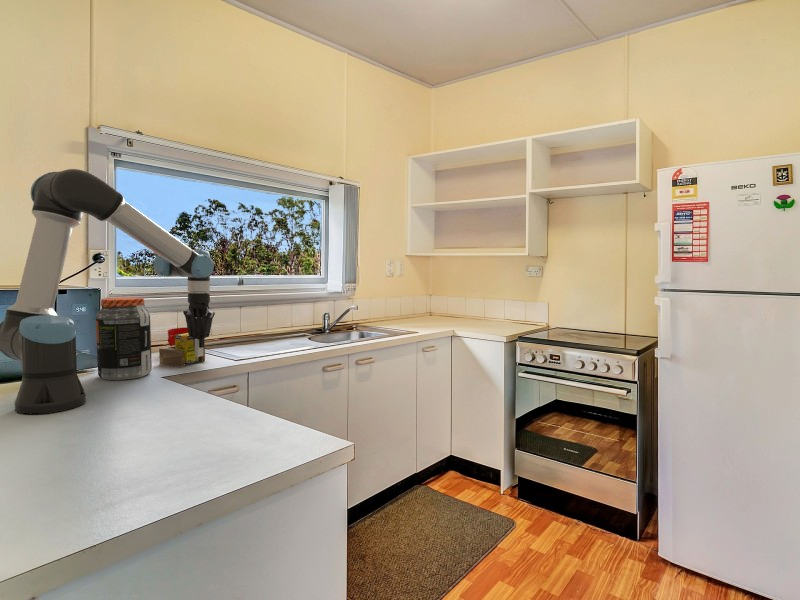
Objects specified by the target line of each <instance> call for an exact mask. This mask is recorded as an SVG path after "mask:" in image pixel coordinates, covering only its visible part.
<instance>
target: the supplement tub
mask: <svg viewBox="0 0 800 600" xmlns="http://www.w3.org/2000/svg"><path fill="white" fill-rule="evenodd" d="M100 300H101V301H100V306H101V308H100V309H99V311H98V312H97V313H96V316H95V331H96V332H95V333H96V357H97V376H98V377H99V378H100V379H102V380H108V381H121V380H123V381H124V380H133V379H138V378H142V377H144V376H146V375H149V374H150V373H151V371H152V367H153V366H152V364H153V363H152V362H153V361H152V335H151V334H152V333H151V330H152V329H151V315H150V312H149V310H148V309H147V308H146V306H145V298H144V297H111V298H109V297H108V298H101V299H100Z"/></svg>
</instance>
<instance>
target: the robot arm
mask: <svg viewBox="0 0 800 600" xmlns="http://www.w3.org/2000/svg"><path fill="white" fill-rule="evenodd" d="M30 198H31V200H32V203H33V205H32V209H31V214H32V215H33V216H34V218H35V219H36V221H35V225H34V230H33V233H32V237H31V241H30V245H29V248H28V252H27V257H26V261H25V265H24V269H23V272H22V276H21V280H20V281H21V282H20V283H19V284H20V285H19V289H18V292H17V296H16V301H15V302H14V304H12V305H11V306H8V307H7V308H6V311H5V316H4V317H3V318H4V319H3V320H2V321H1V322H0V353H1V354H2V355H4V356H5V357H7V358H9V359H12V360H13V361H21V373H22V375H21V376H22V378H21V383H20V387H19V389H18V392H17V395H16V398H15V401H14V411H15V413H17V412H18V414H21V413H27V414H26V415H33V414H32V413H45V414H49V413H48V412H53V413H59V412H64V411H68V410H71V409H75V408H77V407H80V406H82V405H84V404H85V403H86V402H87V401H86V399H87V397H86V392H85V390H84V387H83V385H82V382H81V381H80V378H79V376H78V370H77V369H78V367H77V365H78V364H77V344H76V343H77V337H76V336H77V330H76V325H75V322H74V320H73V319H71V317H70V318H69V317H67V316H61V315H58V314H57V312H56V311H55V309H54V307H55V305H56V304H55V302H56V299H57V295H58V290H59V286H60V283H61V279H62V274H63V270H64V267H65V261H66V257H67V253H68V248H69V245H70V242H71V237H72V232H73V229H74V228H75V227H79V226H80V225H81V222H82V218H83V214H87V215H90V216H92V217H93V218H96V220H99V221H100V222H108V223H109V224H111V225H113V226H114V227H115V228H117V230H118V229H119V230H120V231H121V232H123V233H125V234H126V235H128V236H129V237H131V238H132V239H133V240H135V241H137V242H138V243H139V244H141V245H143V246H144V247H146V248H147V249H149V250H150V251H152V252H154V254H157V255H156V256H155V257H154V260H153V270H154V273H155V274H156V275H158V276H159V277H183V278H187V291H188V293H187V302H188V308H187V309H186V310H183V312H182V313H183V315H184V318H185V322H186V328H188V334H189V336H191V337H193V339H194V347H195V357H200V356H203V347H204V346H205V345H206V344H205V341H206V340H205V339H206V338H209V337H210V334H211V331H212V329H211V328H212V323H213V319H214V318H215V317H214V316H215V315H216V313H215V311H212V310H210V305H209V303H210V302H211V294H210V290H211V289H210V288H211V287H210V285H211V284H210V283H211V282H210V279H211V278H210V277H211V274H212V273H213V271H214V266H215V265H214V260H213V259H212V258H211V255H210V252H209V251H208V250H203V249H192V248H190V247H189V246H188V245H186V244H185V243H184V242H182V241H181V240H180V239H178V238H177V237H175V236H174V235H172V233H170V232H168V231H167V230H165V228H162V227H161V225H159V224H157V223H156V222H154V221H153V220H152V219H150V218H149V217H147V216H146V215H145V214H144V213H142V212H141V211H139V210H138V209H137V208H135V207H133V205H131V204H130V203H128V202H127V201H125V198H124V195H123V194H122V193H121V192H119V191H118V190H116V189H115V188H114V187H112V186H111V185H110V184H108V183H107V182H105V181H104V180H102V179H100V178H99V177H97V176H95V175H94V174H92V173H90V172H87V171H86V170H82V169H78V168H68V169H65V170H61V171H51V172H50V171H49V172H47V173H44V174H43V175H41V176H39V177H37V179H35V180H34V182H33V183H32V185H31V187H30ZM58 411H59V412H58ZM28 413H29V414H28ZM30 413H31V414H30Z"/></svg>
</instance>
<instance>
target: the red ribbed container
mask: <svg viewBox="0 0 800 600" xmlns="http://www.w3.org/2000/svg"><path fill="white" fill-rule="evenodd" d="M185 333H188V328H187V327H175V328H170V329H168V330H167V344H168V345H169V346H174V345H175V335H179V334H185Z"/></svg>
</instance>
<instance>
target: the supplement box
mask: <svg viewBox="0 0 800 600" xmlns="http://www.w3.org/2000/svg"><path fill="white" fill-rule="evenodd" d="M175 349H179V350H184V361H185V366H188V365H192V364H196V363H199V357H195V347H194V339H193V337H191V336H189V334H188V333H185V334H179V335H175Z"/></svg>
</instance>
